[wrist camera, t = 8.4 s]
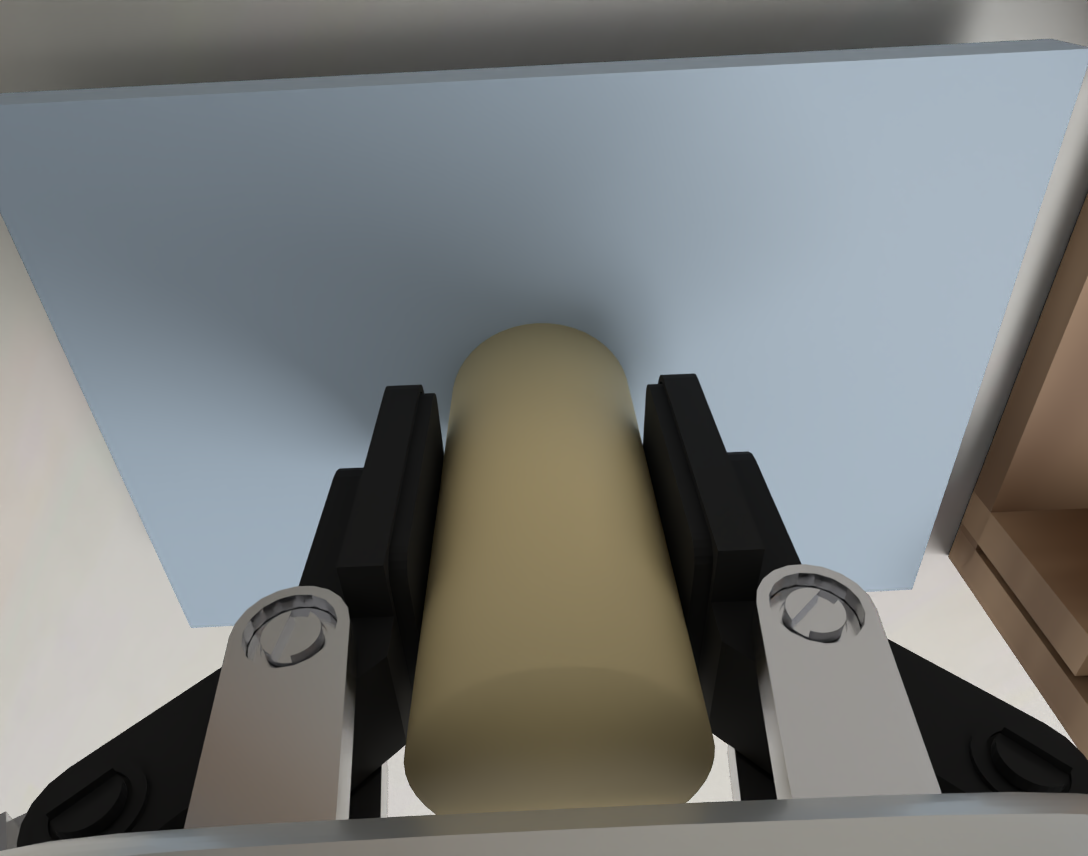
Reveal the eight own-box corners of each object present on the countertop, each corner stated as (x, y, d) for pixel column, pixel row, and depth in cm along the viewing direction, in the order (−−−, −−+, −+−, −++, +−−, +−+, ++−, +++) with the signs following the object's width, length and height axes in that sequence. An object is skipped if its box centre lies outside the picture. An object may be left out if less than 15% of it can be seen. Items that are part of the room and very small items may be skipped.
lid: (1050, 39, 11) (1802, 208, 5) (893, 557, 17) (1124, 949, 11) (-8, 93, 11) (-747, 343, 5) (206, 594, 17) (17, 1008, 11)
